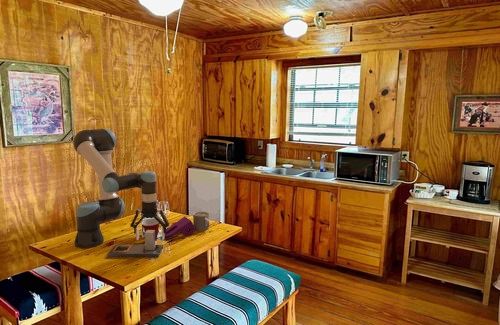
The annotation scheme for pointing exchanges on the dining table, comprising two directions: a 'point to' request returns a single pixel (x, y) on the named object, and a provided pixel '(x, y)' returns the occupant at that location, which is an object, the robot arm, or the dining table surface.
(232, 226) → the dining table surface
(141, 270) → the dining table surface
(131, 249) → the grey peg board
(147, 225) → the plastic cup
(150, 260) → the dining table surface
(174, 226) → the mounting bracket
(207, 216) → the coffee mug
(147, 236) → the peg
